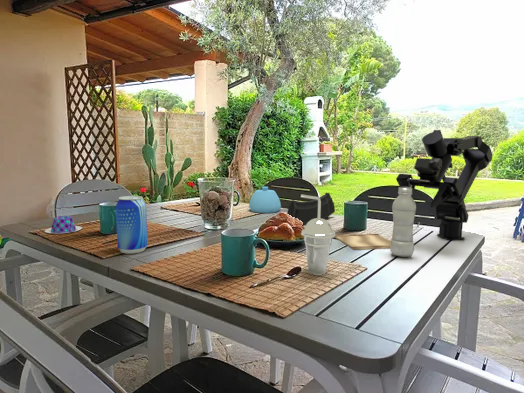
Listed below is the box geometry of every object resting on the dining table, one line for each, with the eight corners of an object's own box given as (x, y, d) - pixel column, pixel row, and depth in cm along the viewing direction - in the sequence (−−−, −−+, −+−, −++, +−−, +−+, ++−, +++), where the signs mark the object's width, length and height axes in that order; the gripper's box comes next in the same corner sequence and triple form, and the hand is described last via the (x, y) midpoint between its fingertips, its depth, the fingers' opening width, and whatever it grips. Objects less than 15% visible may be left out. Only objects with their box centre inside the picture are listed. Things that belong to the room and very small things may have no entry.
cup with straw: (334, 279, 91) (337, 196, 88) (296, 276, 92) (298, 195, 89) (334, 267, 99) (336, 192, 96) (299, 265, 100) (301, 190, 98)
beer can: (153, 248, 115) (151, 196, 113) (135, 255, 108) (133, 200, 105) (130, 245, 118) (128, 194, 116) (111, 252, 110) (108, 198, 108)
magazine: (287, 206, 140) (331, 177, 160) (281, 205, 142) (324, 177, 162) (295, 246, 146) (336, 214, 166) (288, 244, 148) (329, 213, 168)
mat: (377, 235, 134) (377, 233, 134) (401, 247, 118) (401, 245, 118) (334, 237, 131) (334, 235, 131) (354, 250, 115) (354, 247, 115)
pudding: (56, 237, 129) (55, 222, 128) (38, 232, 135) (37, 217, 134) (89, 230, 138) (88, 216, 138) (70, 226, 145) (69, 212, 144)
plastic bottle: (402, 260, 105) (407, 189, 102) (384, 254, 111) (388, 186, 108) (418, 257, 108) (423, 188, 105) (400, 251, 114) (404, 185, 111)
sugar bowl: (269, 215, 170) (270, 189, 168) (242, 211, 178) (242, 187, 176) (286, 210, 182) (286, 186, 180) (260, 207, 190) (260, 184, 189)
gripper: (401, 148, 122) (379, 183, 116) (461, 149, 108) (439, 189, 102) (412, 172, 128) (391, 207, 122) (470, 177, 114) (450, 216, 108)
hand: (416, 204), depth 113 cm, fingers open, 9 cm apart
